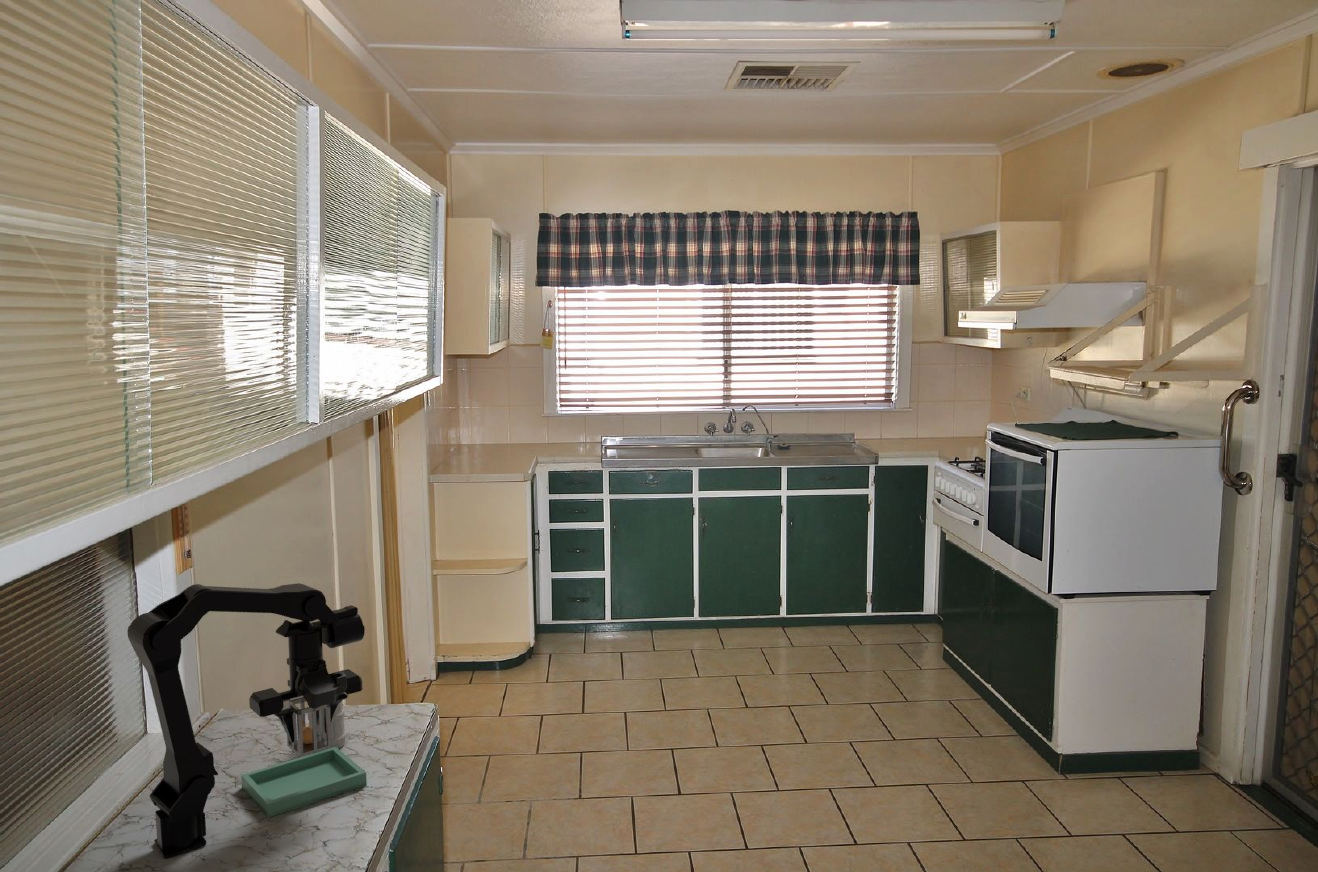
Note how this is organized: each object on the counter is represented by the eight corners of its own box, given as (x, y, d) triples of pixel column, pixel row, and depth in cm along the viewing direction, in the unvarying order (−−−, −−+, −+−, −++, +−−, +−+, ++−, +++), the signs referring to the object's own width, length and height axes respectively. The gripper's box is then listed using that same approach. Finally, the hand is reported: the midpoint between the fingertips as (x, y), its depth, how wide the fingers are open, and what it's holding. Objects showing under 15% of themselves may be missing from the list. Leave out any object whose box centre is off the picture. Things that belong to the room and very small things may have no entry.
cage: (299, 757, 170) (298, 711, 169) (287, 745, 175) (285, 701, 173) (331, 747, 174) (329, 702, 173) (318, 736, 178) (317, 693, 177)
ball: (306, 746, 172) (304, 729, 172) (297, 745, 174) (295, 729, 174) (321, 741, 175) (318, 724, 175) (311, 741, 176) (309, 724, 177)
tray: (268, 817, 167) (267, 804, 167) (241, 787, 178) (241, 775, 177) (366, 785, 179) (366, 772, 179) (336, 758, 189) (335, 746, 189)
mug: (306, 755, 191) (303, 697, 189) (309, 730, 202) (307, 676, 200) (346, 750, 193) (344, 693, 191) (347, 726, 204) (345, 672, 203)
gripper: (269, 680, 160) (273, 768, 162) (374, 654, 172) (377, 737, 174) (246, 661, 168) (250, 746, 170) (348, 638, 181) (350, 717, 183)
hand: (308, 737), depth 174 cm, fingers closed on cage, 6 cm apart
